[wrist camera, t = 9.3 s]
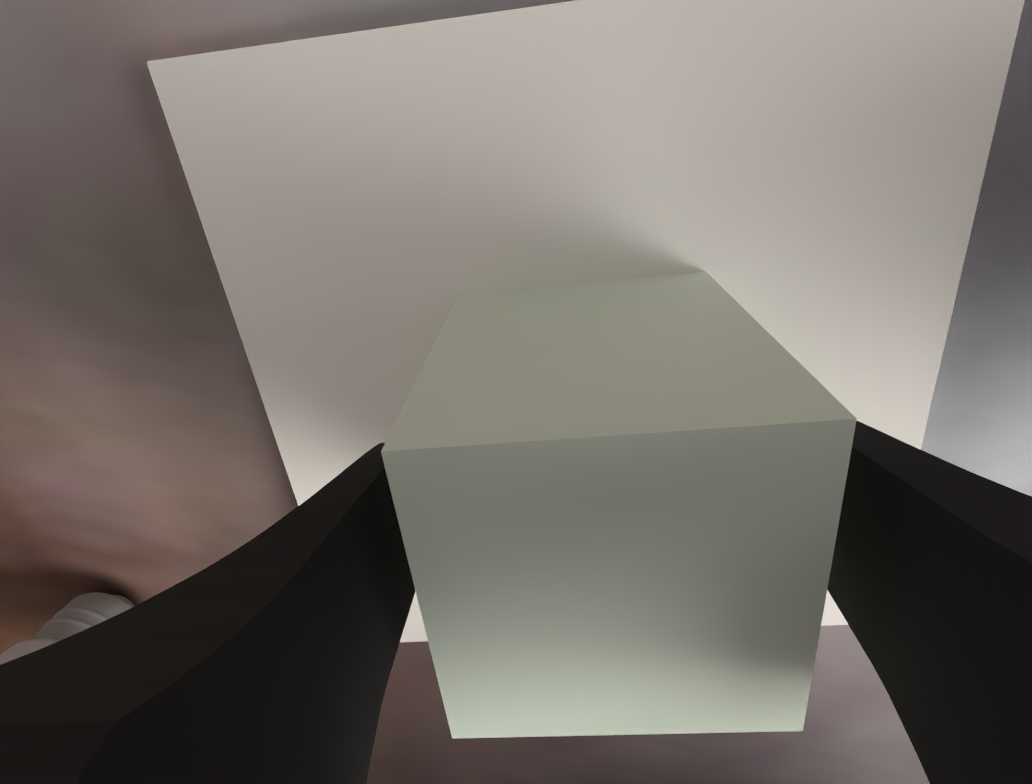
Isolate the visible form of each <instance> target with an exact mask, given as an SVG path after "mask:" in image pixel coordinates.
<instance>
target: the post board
mask: <svg viewBox="0 0 1032 784" xmlns="http://www.w3.org/2000/svg"><path fill="white" fill-rule="evenodd" d="M1024 1H1025V0H574V1H567V2H560V3H553V4H546V5H539V6H532V7H525V8H518V9H511V10H504V11H497V12H490V13H483V14H476V15H469V16H462V17H455V18H448V19H441V20H434V21H427V22H420V23H412V24H405V25H398V26H391V27H384V28H377V29H370V30H363V31H356V32H349V33H342V34H335V35H328V36H321V37H314V38H307V39H300V40H293V41H286V42H279V43H272V44H265V45H258V46H251V47H244V48H237V49H230V50H222V51H215V52H208V53H201V54H194V55H187V56H180V57H173V58H166V59H159V60H152V61H146V62H147V65H148V68H149V71H150V74H151V77H152V80H153V83H154V86H155V89H156V92H157V94H158V97H159V100H160V103H161V106H162V109H163V112H164V115H165V118H166V121H167V124H168V127H169V130H170V132H171V135H172V138H173V141H174V144H175V147H176V150H177V153H178V156H179V159H180V162H181V165H182V168H183V170H184V173H185V176H186V179H187V182H188V185H189V188H190V191H191V194H192V197H193V200H194V203H195V205H196V208H197V211H198V214H199V217H200V220H201V223H202V226H203V229H204V232H205V235H206V238H207V241H208V243H209V246H210V249H211V252H212V255H213V258H214V261H215V264H216V267H217V270H218V273H219V276H220V279H221V281H222V284H223V287H224V290H225V293H226V296H227V299H228V302H229V305H230V308H231V311H232V314H233V316H234V319H235V322H236V325H237V328H238V331H239V334H240V337H241V340H242V343H243V346H244V349H245V352H246V354H247V357H248V360H249V363H250V366H251V369H252V372H253V375H254V378H255V381H256V384H257V387H258V389H259V392H260V395H261V398H262V401H263V404H264V407H265V410H266V413H267V416H268V419H269V422H270V425H271V427H272V430H273V433H274V436H275V439H276V442H277V445H278V448H279V451H280V454H281V457H282V460H283V463H284V465H285V468H286V471H287V474H288V477H289V480H290V483H291V486H292V489H293V492H294V495H295V498H296V500H297V503H298V506H299V505H301V504H302V503H303V502H305V501H306V500H307V499H309V498H310V497H311V496H313V495H314V494H315V493H316V492H318V491H319V490H320V489H321V488H323V487H324V486H325V485H326V484H328V483H329V482H330V481H331V480H333V479H334V478H335V477H336V476H338V475H339V474H340V473H341V472H342V471H344V470H345V469H346V468H347V467H349V466H350V465H351V464H352V463H354V462H355V461H356V460H357V459H359V458H360V457H361V456H362V455H364V454H365V453H366V452H368V451H369V450H370V449H372V448H373V447H375V446H376V445H378V444H379V443H385V442H386V440H387V438H388V436H389V434H390V432H391V430H392V428H393V426H394V424H395V422H396V420H397V418H398V416H399V414H400V412H401V410H402V408H403V406H404V404H405V402H406V400H407V397H408V395H409V393H410V391H411V389H412V387H413V385H414V383H415V381H416V379H417V377H418V375H419V373H420V371H421V369H422V367H423V365H424V363H425V361H426V359H427V357H428V355H429V353H430V351H431V349H432V347H433V345H434V343H435V341H436V339H437V337H438V335H439V333H440V331H441V328H442V326H443V324H444V322H445V320H446V318H447V316H448V314H449V312H450V310H451V308H452V306H453V304H454V302H455V300H456V298H457V296H458V294H467V293H478V292H488V291H499V290H510V289H520V288H531V287H542V286H552V285H563V284H574V283H584V282H595V281H606V280H616V279H627V278H638V277H648V276H659V275H670V274H680V273H691V272H702V271H706V272H707V273H708V274H709V275H710V276H711V277H712V278H713V279H714V280H715V281H716V282H717V283H718V284H719V285H720V286H721V287H722V288H723V289H724V290H725V291H726V292H727V293H728V294H729V295H730V296H732V297H733V298H734V299H735V300H736V301H737V302H738V303H739V304H740V305H741V306H742V307H743V308H744V309H745V310H746V311H747V312H748V313H749V314H750V315H751V316H752V317H753V318H754V319H755V320H756V321H757V322H758V323H759V324H760V325H761V326H762V327H763V328H764V329H765V330H766V331H767V332H768V333H769V334H770V335H771V336H773V337H774V338H775V339H776V340H777V341H778V342H779V343H780V344H781V345H782V346H783V347H784V348H785V349H786V350H787V351H788V352H789V353H790V354H791V355H792V356H793V357H794V358H795V359H796V360H797V361H798V362H799V363H800V364H801V365H802V366H803V367H804V368H805V369H806V370H807V371H808V372H809V373H810V374H811V375H813V376H814V377H815V378H816V379H817V380H818V381H819V382H820V383H821V384H822V385H823V386H824V387H825V388H826V389H827V390H828V391H829V392H830V393H831V394H832V395H833V396H834V397H835V398H836V399H837V400H838V401H839V402H840V403H841V404H842V405H843V406H844V407H845V408H846V409H847V410H848V411H849V412H850V413H851V414H853V415H854V416H855V417H856V418H857V421H859V422H861V423H863V424H866V425H868V426H870V427H872V428H875V429H877V430H879V431H881V432H883V433H885V434H888V435H890V436H892V437H894V438H896V439H898V440H900V441H903V442H905V443H907V444H909V445H911V446H913V447H916V448H918V449H920V450H921V446H922V441H923V437H924V433H925V428H926V424H927V420H928V415H929V411H930V407H931V402H932V398H933V394H934V389H935V385H936V381H937V376H938V372H939V368H940V363H941V359H942V355H943V351H944V346H945V342H946V338H947V333H948V329H949V325H950V320H951V316H952V312H953V307H954V303H955V299H956V294H957V290H958V286H959V281H960V277H961V273H962V268H963V264H964V260H965V256H966V251H967V247H968V243H969V238H970V234H971V230H972V225H973V221H974V217H975V212H976V208H977V204H978V199H979V195H980V191H981V186H982V182H983V178H984V173H985V169H986V165H987V161H988V156H989V152H990V148H991V143H992V139H993V135H994V130H995V126H996V122H997V117H998V113H999V109H1000V104H1001V100H1002V96H1003V91H1004V87H1005V83H1006V78H1007V74H1008V70H1009V66H1010V61H1011V57H1012V53H1013V48H1014V44H1015V40H1016V35H1017V31H1018V27H1019V22H1020V18H1021V14H1022V9H1023V5H1024ZM827 625H848V623H847V621H846V620H845V618H844V616H843V615H842V613H841V611H840V610H839V608H838V606H837V605H836V603H835V601H834V600H833V598H832V597H831V595H830V593H829V592H828V590H827V594H826V600H825V605H824V611H823V617H822V623H821V626H827ZM422 641H428V639H427V635H426V631H425V627H424V623H423V619H422V615H421V611H420V607H419V603H418V599H417V595H416V591H415V594H414V598H413V601H412V604H411V607H410V611H409V614H408V617H407V620H406V623H405V627H404V630H403V633H402V636H401V639H400V642H422Z"/></svg>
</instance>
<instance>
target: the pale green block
mask: <svg viewBox="0 0 1032 784" xmlns="http://www.w3.org/2000/svg"><path fill="white" fill-rule="evenodd" d="M856 420H857V418H856V417H855V416H854V415H853V414H851V413H850V412H849V411H848V410H847V409H846V408H845V407H844V406H843V405H842V404H841V403H840V402H839V401H838V400H837V399H836V398H835V397H834V396H833V395H832V394H831V393H830V392H829V391H828V390H827V389H826V388H825V387H824V386H823V385H822V384H821V383H820V382H819V381H818V380H817V379H816V378H815V377H814V376H813V375H811V374H810V373H809V372H808V371H807V370H806V369H805V368H804V367H803V366H802V365H801V364H800V363H799V362H798V361H797V360H796V359H795V358H794V357H793V356H792V355H791V354H790V353H789V352H788V351H787V350H786V349H785V348H784V347H783V346H782V345H781V344H780V343H779V342H778V341H777V340H776V339H775V338H774V337H773V336H771V335H770V334H769V333H768V332H767V331H766V330H765V329H764V328H763V327H762V326H761V325H760V324H759V323H758V322H757V321H756V320H755V319H754V318H753V317H752V316H751V315H750V314H749V313H748V312H747V311H746V310H745V309H744V308H743V307H742V306H741V305H740V304H739V303H738V302H737V301H736V300H735V299H734V298H733V297H732V296H730V295H729V294H728V293H727V292H726V291H725V290H724V289H723V288H722V287H721V286H720V285H719V284H718V283H717V282H716V281H715V280H714V279H713V278H712V277H711V276H710V275H709V274H708V273H707V272H706V271H702V272H691V273H680V274H670V275H659V276H648V277H638V278H627V279H616V280H606V281H595V282H584V283H574V284H563V285H552V286H542V287H531V288H520V289H510V290H499V291H488V292H478V293H467V294H458V296H457V298H456V300H455V302H454V304H453V306H452V308H451V310H450V312H449V314H448V316H447V318H446V320H445V322H444V324H443V326H442V328H441V331H440V333H439V335H438V337H437V339H436V341H435V343H434V345H433V347H432V349H431V351H430V353H429V355H428V357H427V359H426V361H425V363H424V365H423V367H422V369H421V371H420V373H419V375H418V377H417V379H416V381H415V383H414V385H413V387H412V389H411V391H410V393H409V395H408V397H407V400H406V402H405V404H404V406H403V408H402V410H401V412H400V414H399V416H398V418H397V420H396V422H395V424H394V426H393V428H392V430H391V432H390V434H389V436H388V438H387V440H386V442H385V444H384V446H383V448H382V450H381V454H382V458H383V462H384V466H385V470H386V474H387V478H388V482H389V486H390V490H391V494H392V498H393V502H394V506H395V510H396V514H397V518H398V522H399V526H400V530H401V535H402V539H403V543H404V547H405V551H406V555H407V559H408V563H409V567H410V571H411V575H412V579H413V583H414V587H415V591H416V595H417V599H418V603H419V607H420V611H421V615H422V619H423V623H424V627H425V631H426V635H427V639H428V643H429V647H430V651H431V655H432V659H433V663H434V667H435V671H436V675H437V679H438V683H439V687H440V691H441V695H442V699H443V703H444V707H445V711H446V716H447V720H448V724H449V728H450V732H451V736H452V738H498V737H544V736H591V735H637V734H684V733H730V732H776V731H803V727H804V721H805V715H806V709H807V704H808V698H809V692H810V686H811V681H812V675H813V669H814V663H815V657H816V652H817V646H818V640H819V634H820V629H821V623H822V617H823V611H824V605H825V600H826V594H827V588H828V582H829V577H830V571H831V565H832V559H833V553H834V548H835V542H836V536H837V530H838V525H839V519H840V513H841V507H842V501H843V496H844V490H845V484H846V478H847V472H848V467H849V461H850V455H851V449H852V444H853V438H854V432H855V426H856Z"/></svg>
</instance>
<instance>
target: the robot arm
mask: <svg viewBox="0 0 1032 784" xmlns="http://www.w3.org/2000/svg"><path fill="white" fill-rule="evenodd" d="M384 444H385V443H379V444H378V445H376V446H375V447H373V448H372V449H370V450H369V451H368V452H366V453H365V454H364V455H362V456H361V457H360V458H359V459H357V460H356V461H355V462H354V463H352V464H351V465H350V466H349V467H347V468H346V469H345V470H344V471H342V472H341V473H340V474H339V475H338V476H336V477H335V478H334V479H333V480H331V481H330V482H329V483H328V484H326V485H325V486H324V487H323V488H321V489H320V490H319V491H318V492H316V493H315V494H314V495H313V496H311V497H310V498H309V499H307V500H306V501H305V502H303V503H302V504H301V505H299V506H298V507H297V508H295V509H294V510H293V511H291V512H290V513H288V514H287V515H286V516H284V517H283V518H282V519H280V520H279V521H278V522H276V523H275V524H274V525H272V526H271V527H269V528H268V529H267V530H265V531H264V532H262V533H261V534H260V535H258V536H257V537H255V538H254V539H252V540H251V541H249V542H248V543H246V544H244V545H243V546H241V547H240V548H238V549H237V550H235V551H233V552H232V553H230V554H229V555H227V556H225V557H224V558H222V559H220V560H219V561H217V562H216V563H214V564H212V565H211V566H209V567H207V568H206V569H204V570H202V571H200V572H199V573H197V574H195V575H193V576H191V577H189V578H187V579H186V580H184V581H182V582H180V583H178V584H176V585H174V586H172V587H171V588H169V589H167V590H165V591H163V592H161V593H159V594H157V595H156V596H154V597H152V598H150V599H148V600H146V601H144V602H143V603H141V604H139V605H137V606H135V607H133V608H131V609H128V610H126V611H124V612H122V613H120V614H118V615H116V616H114V617H112V618H109V619H107V620H105V621H103V622H101V623H99V624H97V625H94V626H92V627H90V628H88V629H85V630H83V631H81V632H79V633H76V634H74V635H72V636H70V637H67V638H65V639H63V640H61V641H58V642H56V643H53V644H51V645H49V646H46V647H44V648H41V649H39V650H37V651H34V652H32V653H29V654H27V655H24V656H21V657H19V658H16V659H14V660H11V661H8V662H6V663H3V664H1V665H0V784H366V780H367V774H368V769H369V763H370V758H371V753H372V748H373V743H374V739H375V734H376V729H377V724H378V719H379V714H380V709H381V704H382V700H383V697H384V693H385V689H386V685H387V682H388V678H389V675H390V671H391V668H392V665H393V662H394V659H395V655H396V652H397V649H398V646H399V643H400V639H401V636H402V633H403V630H404V627H405V623H406V620H407V617H408V614H409V611H410V607H411V604H412V601H413V598H414V594H415V587H414V583H413V579H412V575H411V571H410V567H409V563H408V559H407V555H406V551H405V547H404V543H403V539H402V535H401V530H400V526H399V522H398V518H397V514H396V510H395V506H394V502H393V498H392V494H391V490H390V486H389V482H388V478H387V474H386V470H385V466H384V462H383V458H382V454H381V450H382V448H383V446H384ZM827 590H828V592H829V593H830V595H831V597H832V598H833V600H834V601H835V603H836V605H837V606H838V608H839V610H840V611H841V613H842V615H843V616H844V618H845V620H846V621H847V623H848V625H849V626H850V628H851V630H852V631H853V633H854V634H855V636H856V638H857V639H858V641H859V643H860V644H861V646H862V648H863V649H864V651H865V653H866V654H867V656H868V658H869V659H870V661H871V663H872V664H873V666H874V668H875V670H876V672H877V673H878V675H879V677H880V679H881V681H882V683H883V684H884V686H885V688H886V690H887V692H888V694H889V696H890V698H891V700H892V702H893V704H894V707H895V709H896V711H897V713H898V715H899V717H900V719H901V721H902V723H903V726H904V728H905V730H906V732H907V734H908V736H909V738H910V740H911V742H912V744H913V747H914V749H915V751H916V753H917V755H918V757H919V760H920V762H921V764H922V766H923V769H924V771H925V773H926V775H927V778H928V780H929V782H930V784H1032V497H1031V496H1028V495H1026V494H1023V493H1020V492H1018V491H1015V490H1013V489H1011V488H1008V487H1006V486H1003V485H1001V484H998V483H996V482H993V481H991V480H988V479H986V478H984V477H981V476H979V475H976V474H974V473H972V472H969V471H967V470H965V469H962V468H960V467H958V466H955V465H953V464H951V463H949V462H946V461H944V460H942V459H940V458H937V457H935V456H933V455H931V454H929V453H926V452H924V451H922V450H920V449H918V448H916V447H913V446H911V445H909V444H907V443H905V442H903V441H900V440H898V439H896V438H894V437H892V436H890V435H888V434H885V433H883V432H881V431H879V430H877V429H875V428H872V427H870V426H868V425H866V424H863V423H861V422H859V421H857V420H856V426H855V432H854V438H853V444H852V449H851V455H850V461H849V467H848V472H847V478H846V484H845V490H844V496H843V501H842V507H841V513H840V519H839V525H838V530H837V536H836V542H835V548H834V553H833V559H832V565H831V571H830V577H829V582H828V588H827Z"/></svg>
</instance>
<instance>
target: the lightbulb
mask: <svg viewBox="0 0 1032 784" xmlns="http://www.w3.org/2000/svg"><path fill="white" fill-rule="evenodd" d="M133 607H134V605H133V603H132V602H131V601H130V600H129V599H127V598H126V597H123V596H121V595H111V594H107V593H100V592H94V593H87V594H83V595H79V596H77V597H75V598H73V599H72V600H71V601H70V602H69V603H68V604H67V605H66V606H65V607H64V608H63V609H61V610H60V611H58V612H57V613H56V614H55V615H54V616H53V618H52V619H51V620H49V621H47V622H46V623H45V624H44V625H43V626H42V627H41V629H40V630H39V631H38V632H37V633H35V634H34V635H33V636H32V637H31V638H30V639H29V640H26V641H22V642H19V643H17V644H15V645H13V646H12V647H10V648H8V649H7V650H6V651H5V652H4V653H2V654H1V655H0V665H1V664H3V663H6V662H8V661H11V660H14V659H16V658H19V657H21V656H24V655H27V654H29V653H32V652H34V651H37V650H39V649H41V648H44V647H46V646H49V645H51V644H53V643H56V642H58V641H61V640H63V639H65V638H67V637H70V636H72V635H74V634H76V633H79V632H81V631H83V630H85V629H88V628H90V627H92V626H94V625H97V624H99V623H101V622H103V621H105V620H107V619H109V618H112V617H114V616H116V615H118V614H120V613H122V612H124V611H126V610H128V609H131V608H133Z"/></svg>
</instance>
